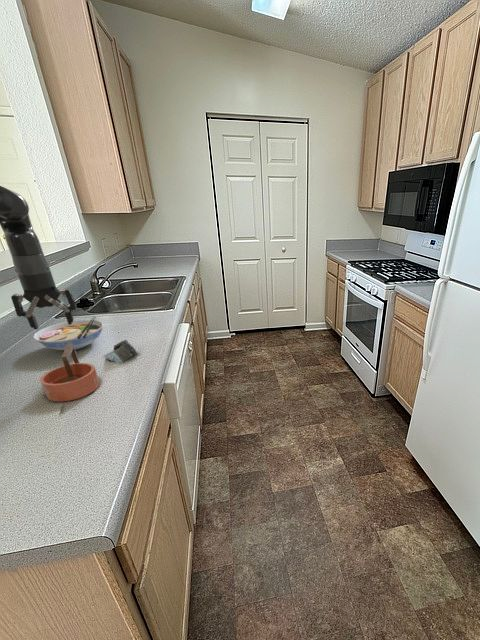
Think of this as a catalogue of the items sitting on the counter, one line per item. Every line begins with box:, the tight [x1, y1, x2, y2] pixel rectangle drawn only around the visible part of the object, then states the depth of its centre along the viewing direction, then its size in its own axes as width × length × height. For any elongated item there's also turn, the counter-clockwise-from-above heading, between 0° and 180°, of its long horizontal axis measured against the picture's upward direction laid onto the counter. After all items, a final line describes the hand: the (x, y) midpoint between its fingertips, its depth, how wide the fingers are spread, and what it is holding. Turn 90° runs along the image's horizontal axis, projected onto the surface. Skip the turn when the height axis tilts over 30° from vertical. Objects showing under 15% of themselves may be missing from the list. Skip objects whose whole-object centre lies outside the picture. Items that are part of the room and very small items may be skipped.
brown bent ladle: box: [61, 341, 81, 383], centre depth 104 cm, size 18×5×10 cm, turn 26°
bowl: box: [39, 362, 100, 403], centre depth 99 cm, size 14×14×6 cm
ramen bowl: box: [33, 316, 104, 351], centre depth 128 cm, size 25×23×8 cm
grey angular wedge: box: [105, 339, 139, 364], centre depth 119 cm, size 10×7×12 cm
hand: (53, 326), depth 99 cm, fingers open, 8 cm apart
